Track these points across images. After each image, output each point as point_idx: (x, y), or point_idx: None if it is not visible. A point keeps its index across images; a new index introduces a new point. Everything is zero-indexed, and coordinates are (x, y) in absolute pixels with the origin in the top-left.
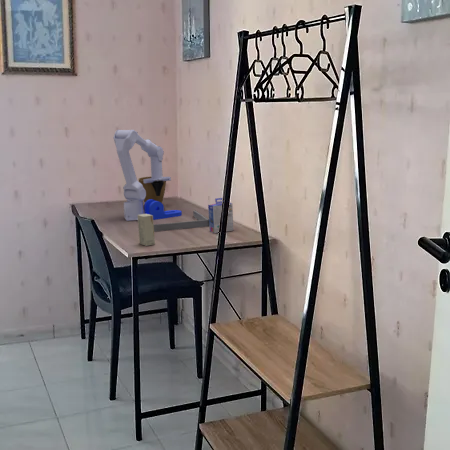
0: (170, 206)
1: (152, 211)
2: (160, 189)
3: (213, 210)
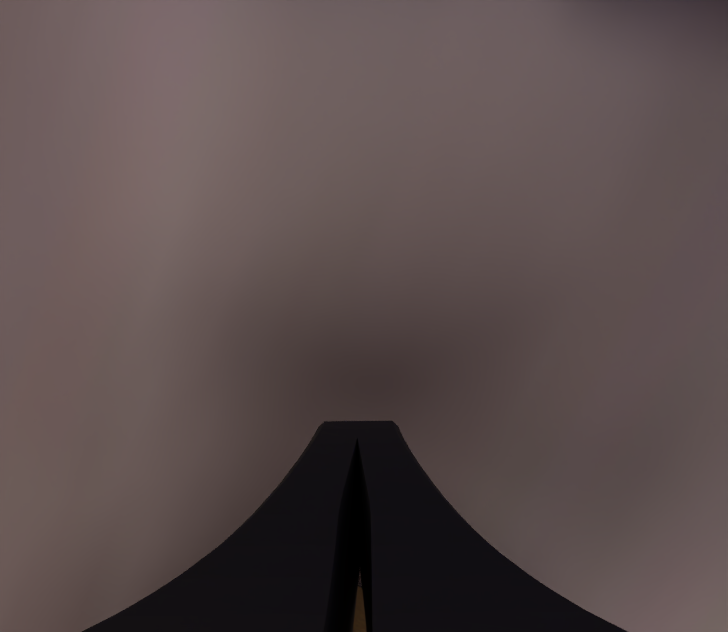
0: (45, 580)
1: None
2: (291, 509)
3: None
